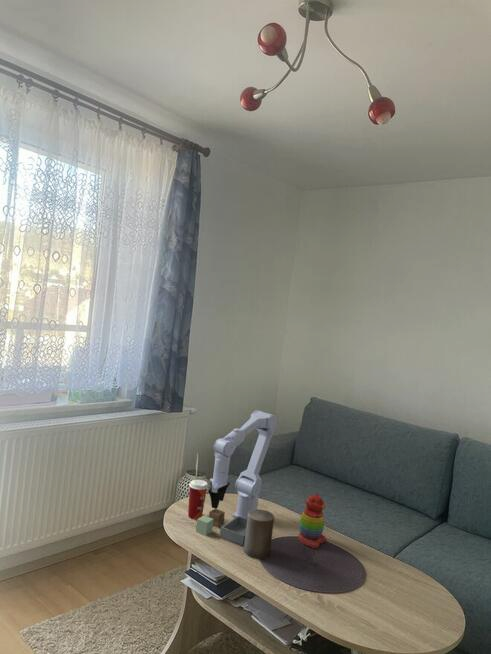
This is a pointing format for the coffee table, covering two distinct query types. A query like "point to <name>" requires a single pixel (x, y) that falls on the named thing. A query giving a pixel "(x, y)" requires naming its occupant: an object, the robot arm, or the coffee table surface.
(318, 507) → the stacking bear
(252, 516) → the pillar candle
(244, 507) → the robot arm
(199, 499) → the paper cup
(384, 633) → the coffee table surface
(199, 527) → the sage block
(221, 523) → the walnut block
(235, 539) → the tray
